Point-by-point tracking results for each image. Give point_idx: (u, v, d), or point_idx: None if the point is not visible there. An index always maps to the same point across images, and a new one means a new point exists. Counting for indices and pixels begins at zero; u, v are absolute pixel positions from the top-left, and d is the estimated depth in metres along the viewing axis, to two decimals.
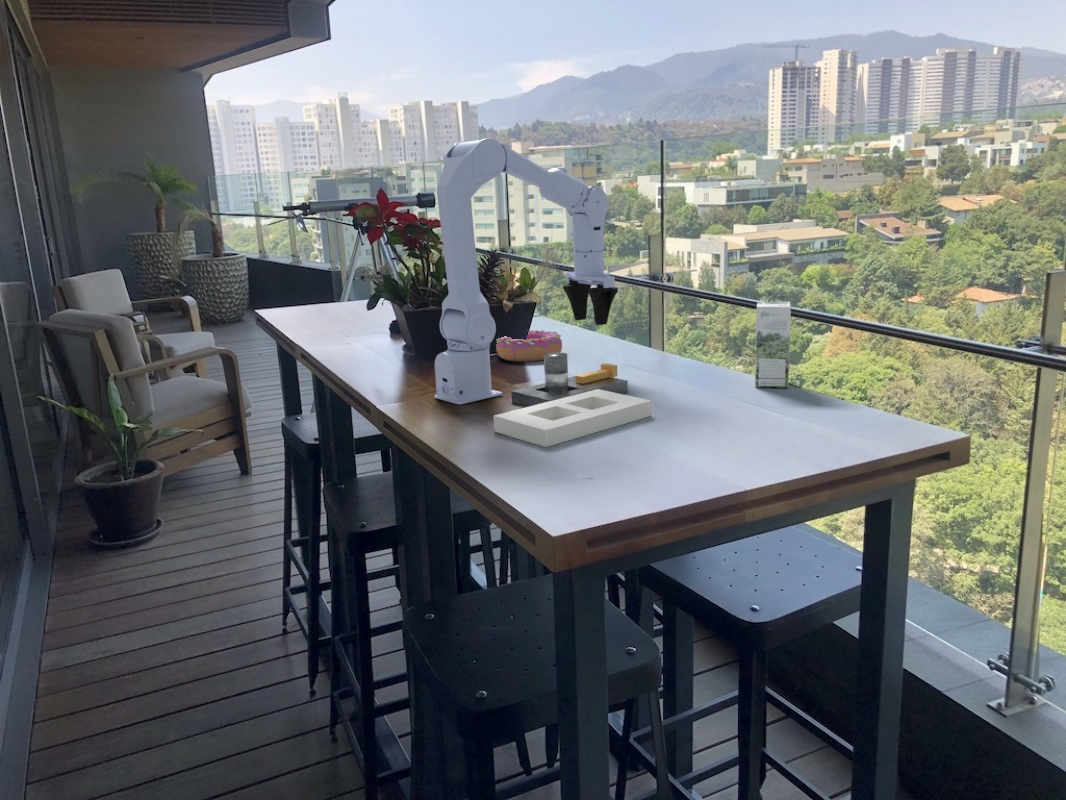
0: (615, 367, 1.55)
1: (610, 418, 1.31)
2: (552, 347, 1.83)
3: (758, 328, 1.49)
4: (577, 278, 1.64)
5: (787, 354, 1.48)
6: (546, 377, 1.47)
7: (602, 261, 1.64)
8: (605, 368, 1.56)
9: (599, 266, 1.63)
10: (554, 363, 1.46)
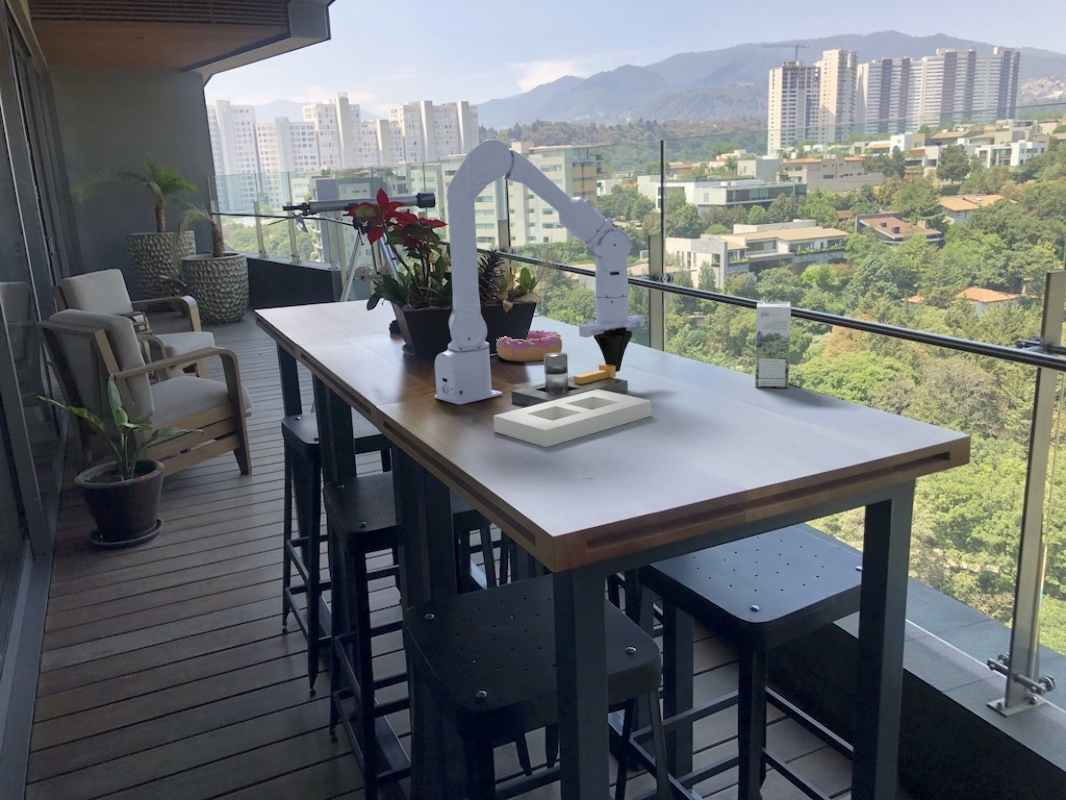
0: (613, 367, 1.55)
1: (610, 418, 1.31)
2: (552, 347, 1.83)
3: (758, 328, 1.49)
4: None
5: (787, 354, 1.48)
6: (546, 377, 1.47)
7: (608, 309, 1.52)
8: (603, 368, 1.56)
9: (603, 313, 1.52)
10: (554, 363, 1.46)
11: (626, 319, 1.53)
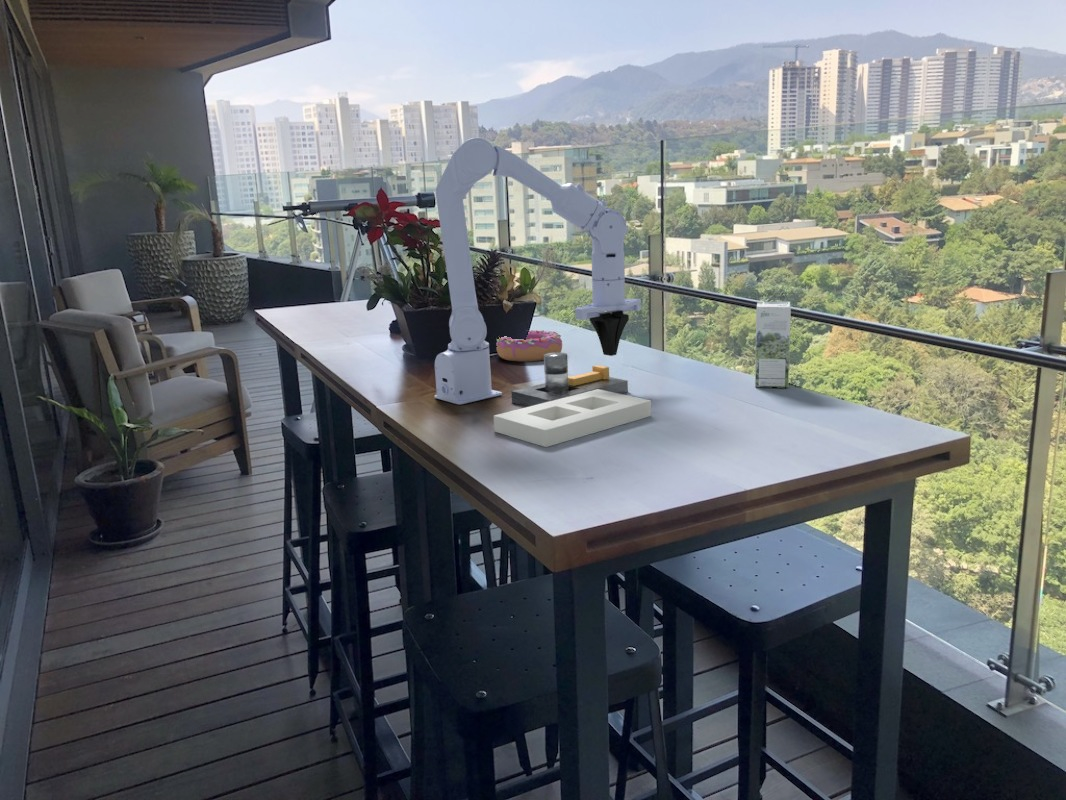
0: (607, 369, 1.54)
1: (610, 418, 1.31)
2: (552, 347, 1.83)
3: (758, 328, 1.49)
4: None
5: (787, 354, 1.48)
6: (546, 377, 1.47)
7: (605, 291, 1.50)
8: (597, 370, 1.55)
9: (599, 296, 1.51)
10: (554, 363, 1.46)
11: (622, 302, 1.52)
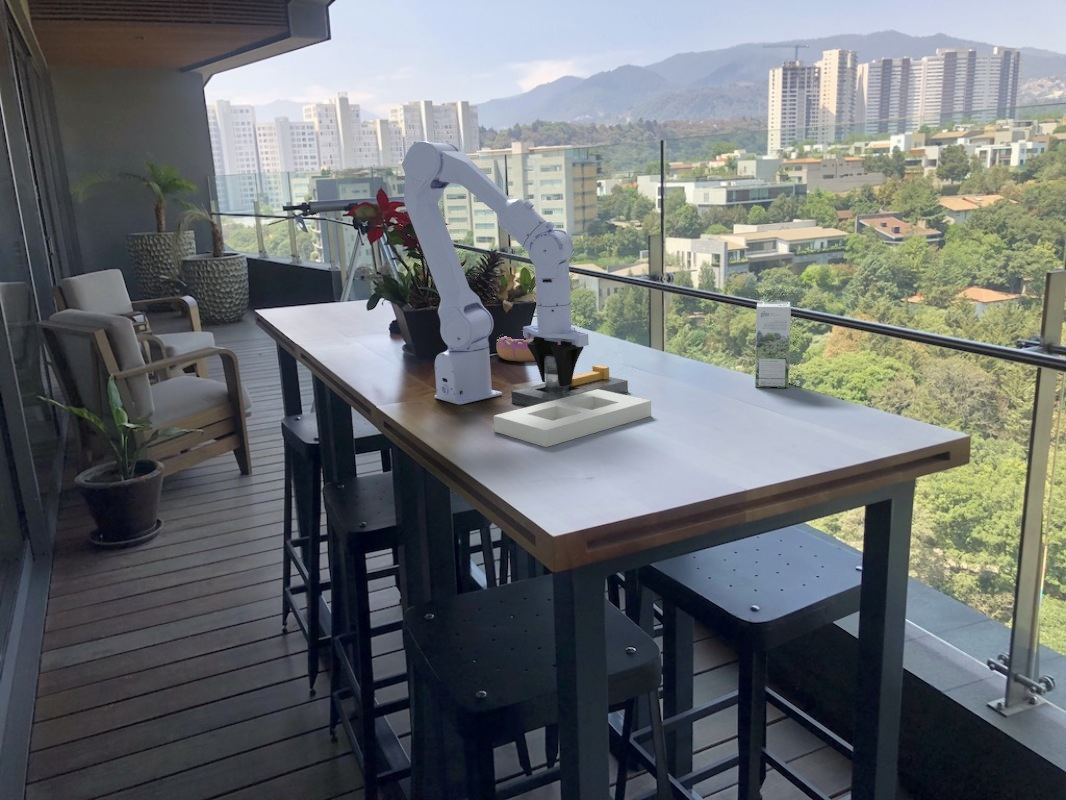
0: (607, 369, 1.54)
1: (610, 418, 1.31)
2: None
3: (758, 328, 1.49)
4: (543, 335, 1.44)
5: (787, 354, 1.48)
6: (546, 377, 1.47)
7: (570, 315, 1.45)
8: (597, 370, 1.55)
9: (567, 321, 1.44)
10: (554, 362, 1.46)
11: None
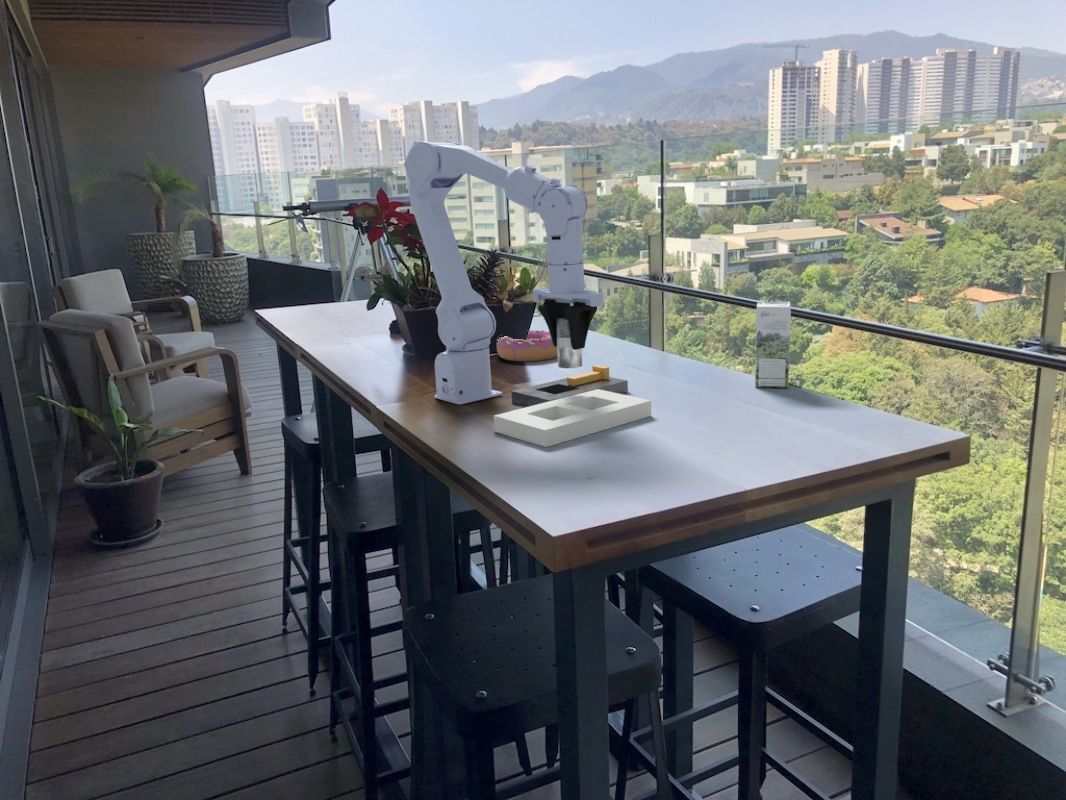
0: (607, 369, 1.54)
1: (610, 418, 1.31)
2: (553, 347, 1.83)
3: (758, 328, 1.49)
4: (555, 296, 1.38)
5: (787, 354, 1.48)
6: (559, 341, 1.41)
7: (583, 275, 1.38)
8: (597, 370, 1.55)
9: (580, 280, 1.38)
10: (568, 325, 1.39)
11: None
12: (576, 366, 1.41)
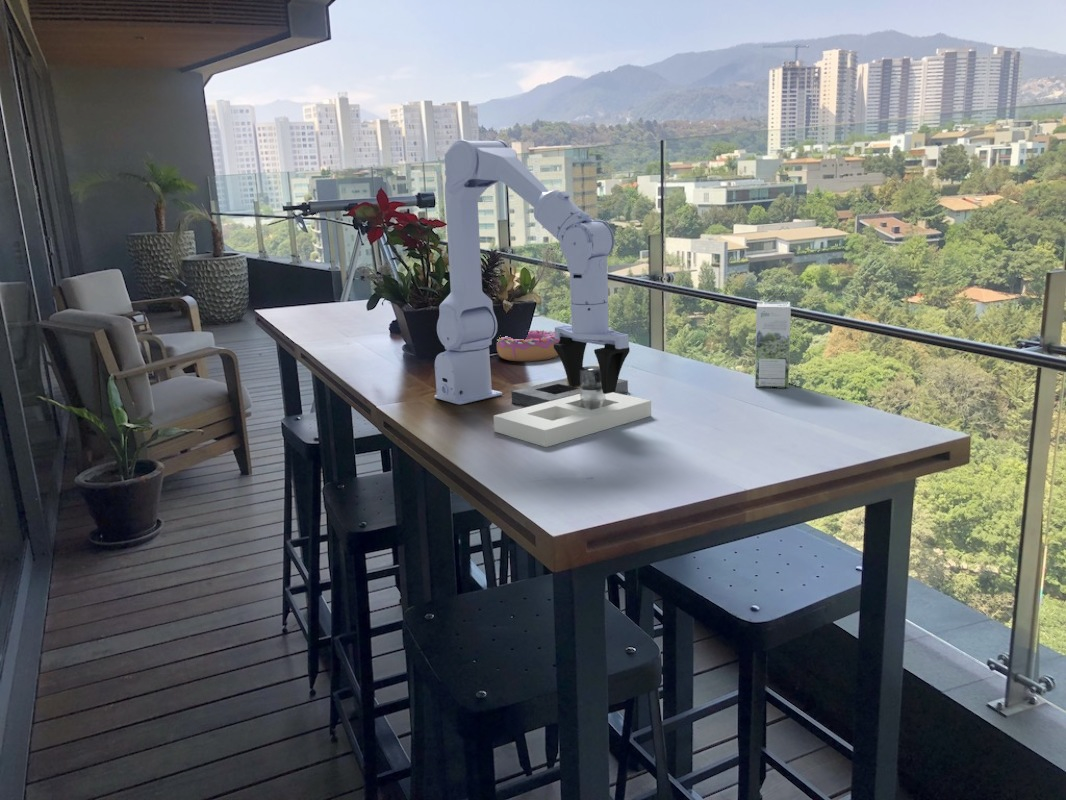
0: None
1: (610, 418, 1.31)
2: (553, 347, 1.83)
3: (758, 328, 1.49)
4: (578, 336, 1.31)
5: (787, 354, 1.48)
6: (582, 393, 1.35)
7: (607, 314, 1.32)
8: None
9: (605, 320, 1.31)
10: (592, 377, 1.34)
11: None
12: None
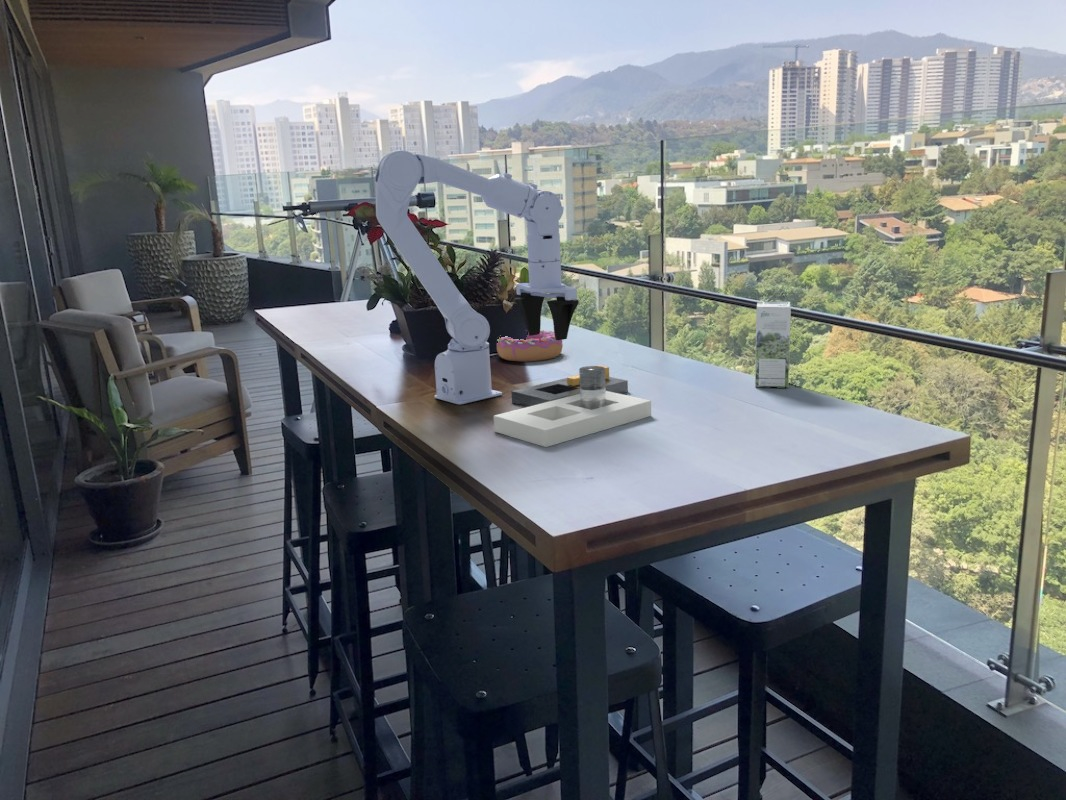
0: (607, 369, 1.54)
1: (610, 418, 1.31)
2: (553, 347, 1.83)
3: (758, 328, 1.49)
4: (534, 290, 1.52)
5: (787, 354, 1.48)
6: (582, 393, 1.35)
7: (560, 271, 1.52)
8: None
9: (557, 276, 1.51)
10: (592, 377, 1.34)
11: None
12: None
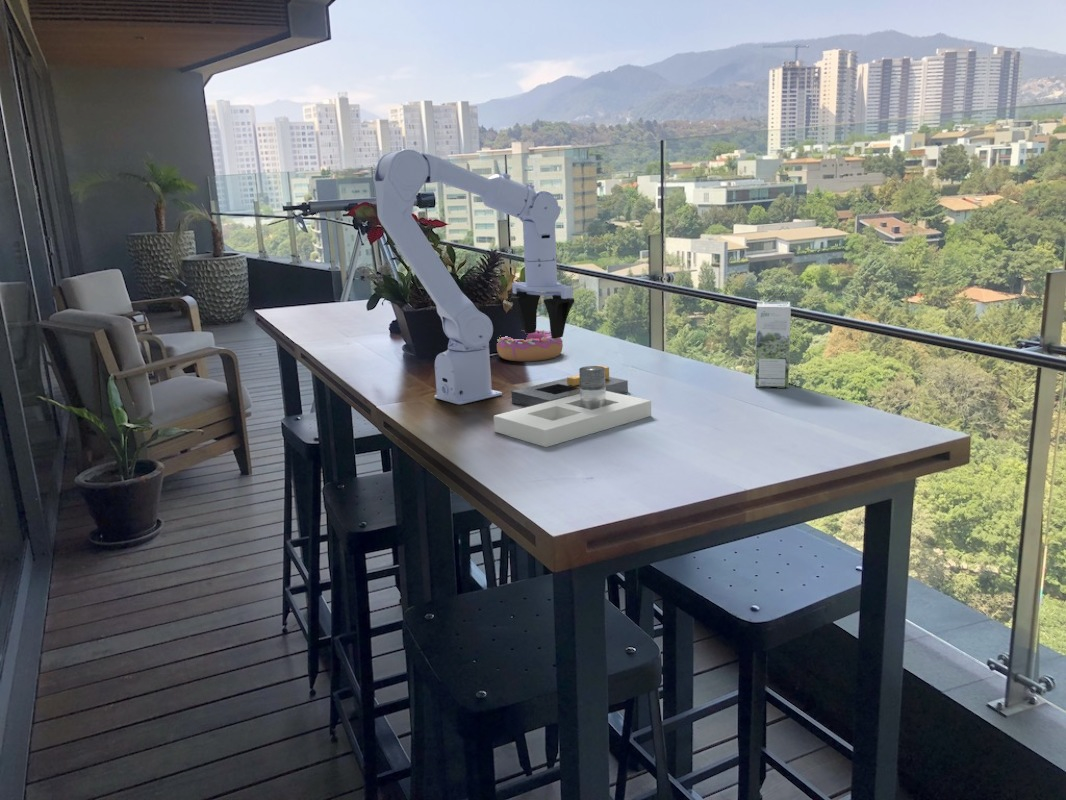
0: (607, 369, 1.54)
1: (610, 418, 1.31)
2: (553, 347, 1.83)
3: (758, 328, 1.49)
4: (530, 289, 1.54)
5: (787, 354, 1.48)
6: (582, 393, 1.35)
7: (556, 270, 1.54)
8: None
9: (553, 275, 1.54)
10: (592, 377, 1.34)
11: None
12: None
